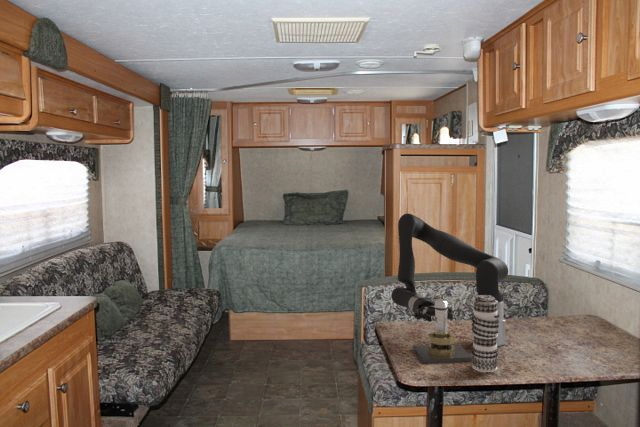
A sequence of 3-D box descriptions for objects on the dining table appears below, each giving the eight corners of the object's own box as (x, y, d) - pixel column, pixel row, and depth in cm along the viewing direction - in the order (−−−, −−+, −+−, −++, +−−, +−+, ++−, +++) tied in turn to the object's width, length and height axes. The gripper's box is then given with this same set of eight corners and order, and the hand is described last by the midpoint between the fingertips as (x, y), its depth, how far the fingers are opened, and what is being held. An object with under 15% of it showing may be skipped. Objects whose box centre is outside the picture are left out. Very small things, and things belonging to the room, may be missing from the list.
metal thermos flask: (445, 348, 188) (445, 298, 186) (449, 353, 184) (449, 302, 182) (433, 349, 188) (433, 299, 186) (437, 353, 184) (437, 302, 182)
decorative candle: (487, 360, 180) (488, 292, 178) (504, 370, 171) (505, 298, 169) (465, 364, 177) (465, 294, 175) (481, 374, 168) (482, 301, 166)
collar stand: (458, 347, 194) (458, 328, 193) (472, 361, 180) (472, 340, 179) (412, 349, 192) (412, 330, 192) (422, 363, 178) (422, 343, 178)
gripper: (404, 298, 198) (423, 309, 183) (437, 295, 202) (458, 306, 186) (404, 317, 199) (423, 330, 184) (437, 314, 203) (458, 326, 187)
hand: (441, 318), depth 185 cm, fingers open, 8 cm apart
